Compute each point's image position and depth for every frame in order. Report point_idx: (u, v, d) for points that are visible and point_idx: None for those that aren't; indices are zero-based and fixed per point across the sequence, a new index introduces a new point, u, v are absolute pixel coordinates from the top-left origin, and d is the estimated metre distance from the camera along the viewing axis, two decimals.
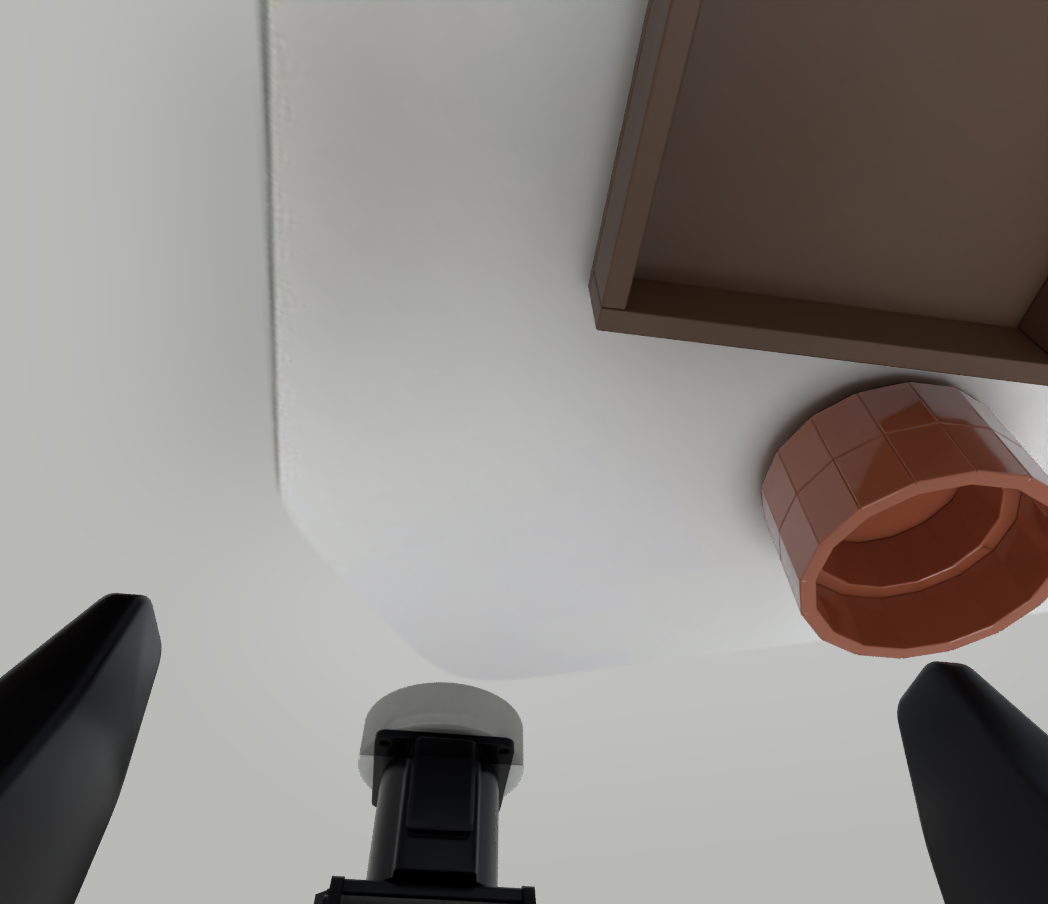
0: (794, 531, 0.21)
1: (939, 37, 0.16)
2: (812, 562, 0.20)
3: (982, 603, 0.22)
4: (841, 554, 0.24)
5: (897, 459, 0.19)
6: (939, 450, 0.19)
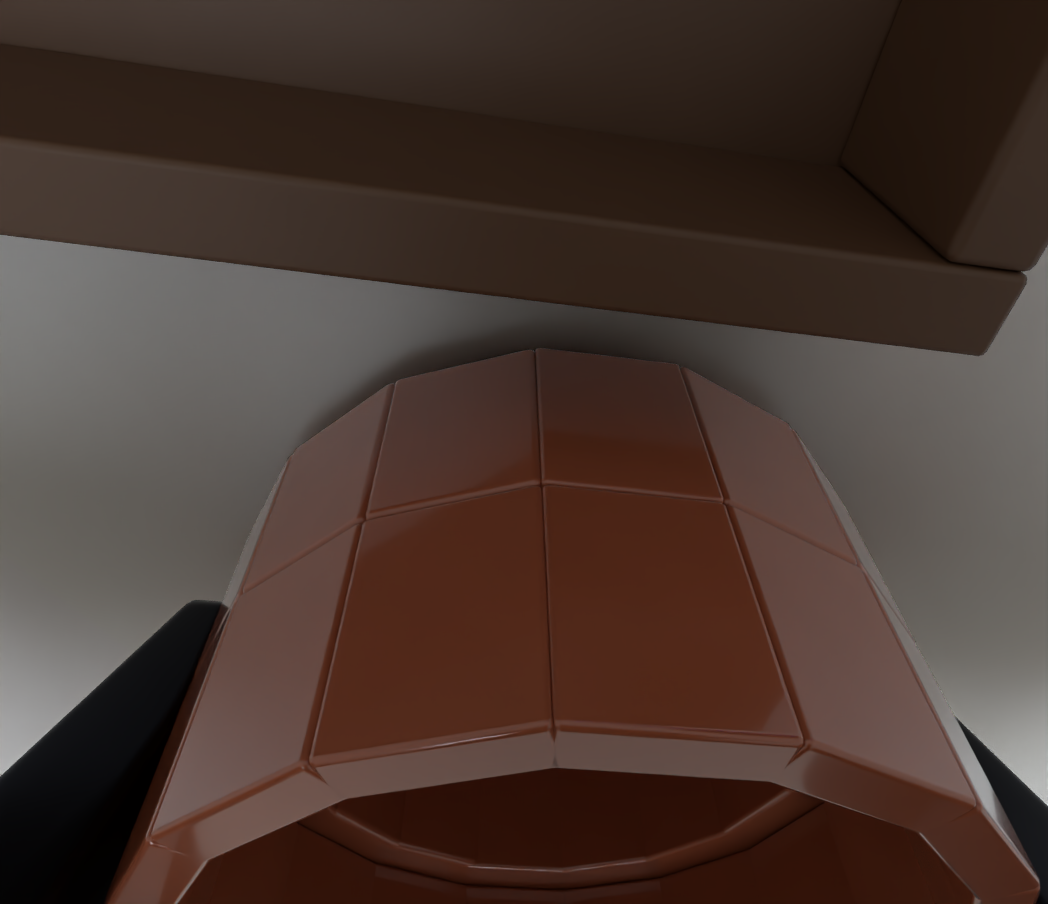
0: None
1: None
2: None
3: None
4: None
5: (325, 633, 0.05)
6: (474, 602, 0.05)
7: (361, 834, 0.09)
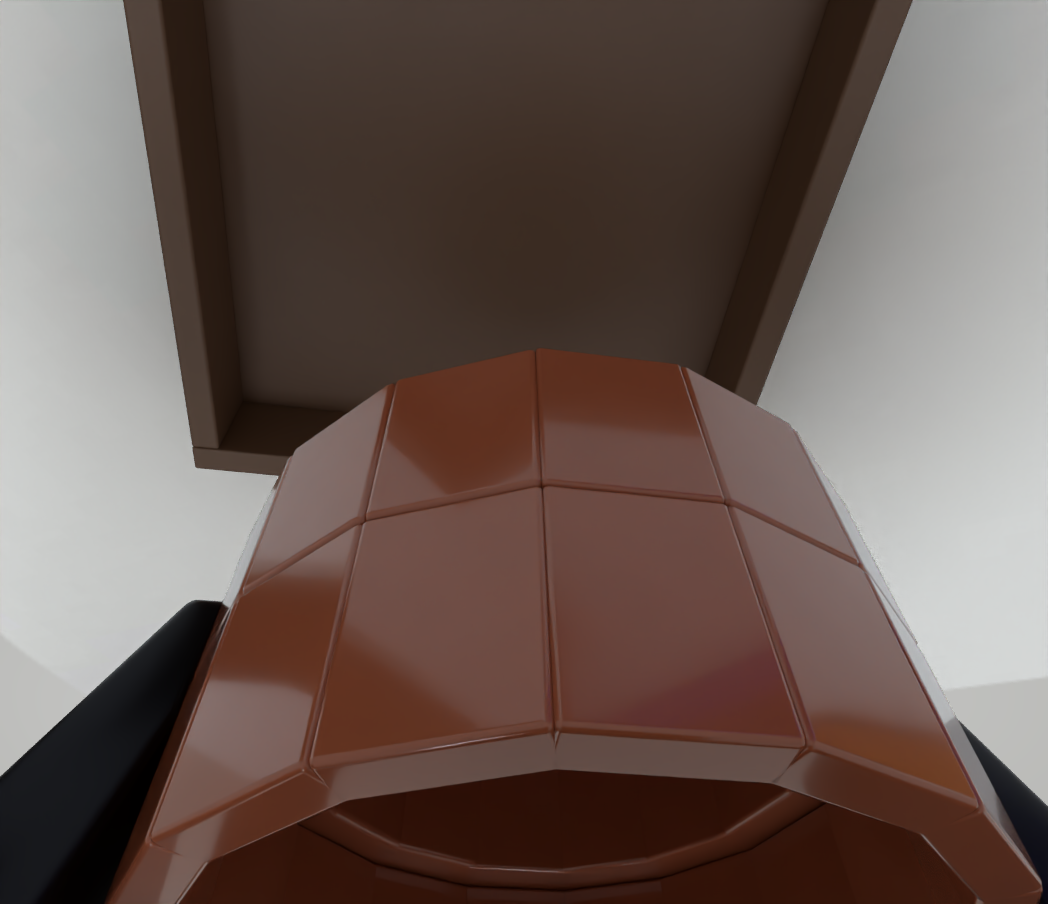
0: None
1: (504, 174, 0.15)
2: None
3: None
4: None
5: (326, 635, 0.05)
6: (475, 602, 0.05)
7: (361, 834, 0.09)
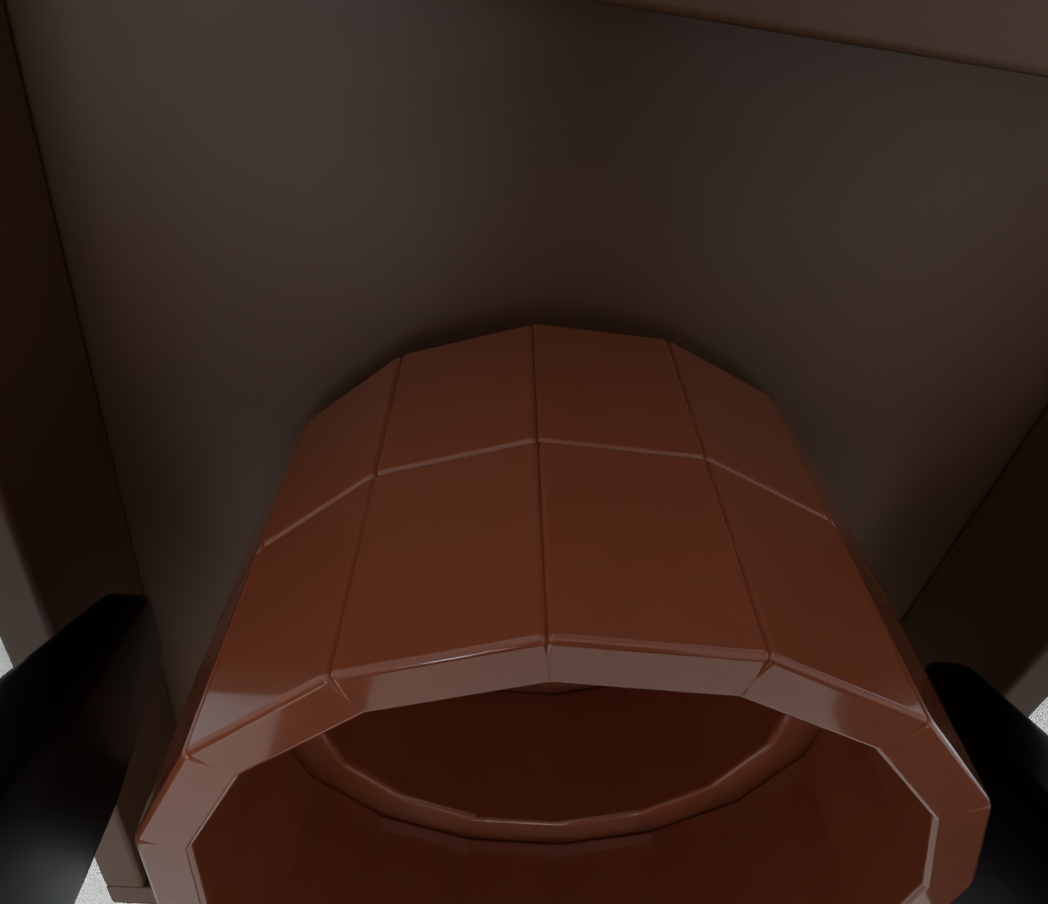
0: None
1: None
2: (153, 878, 0.06)
3: (769, 899, 0.09)
4: (492, 730, 0.11)
5: (344, 572, 0.05)
6: (477, 541, 0.05)
7: (369, 786, 0.09)
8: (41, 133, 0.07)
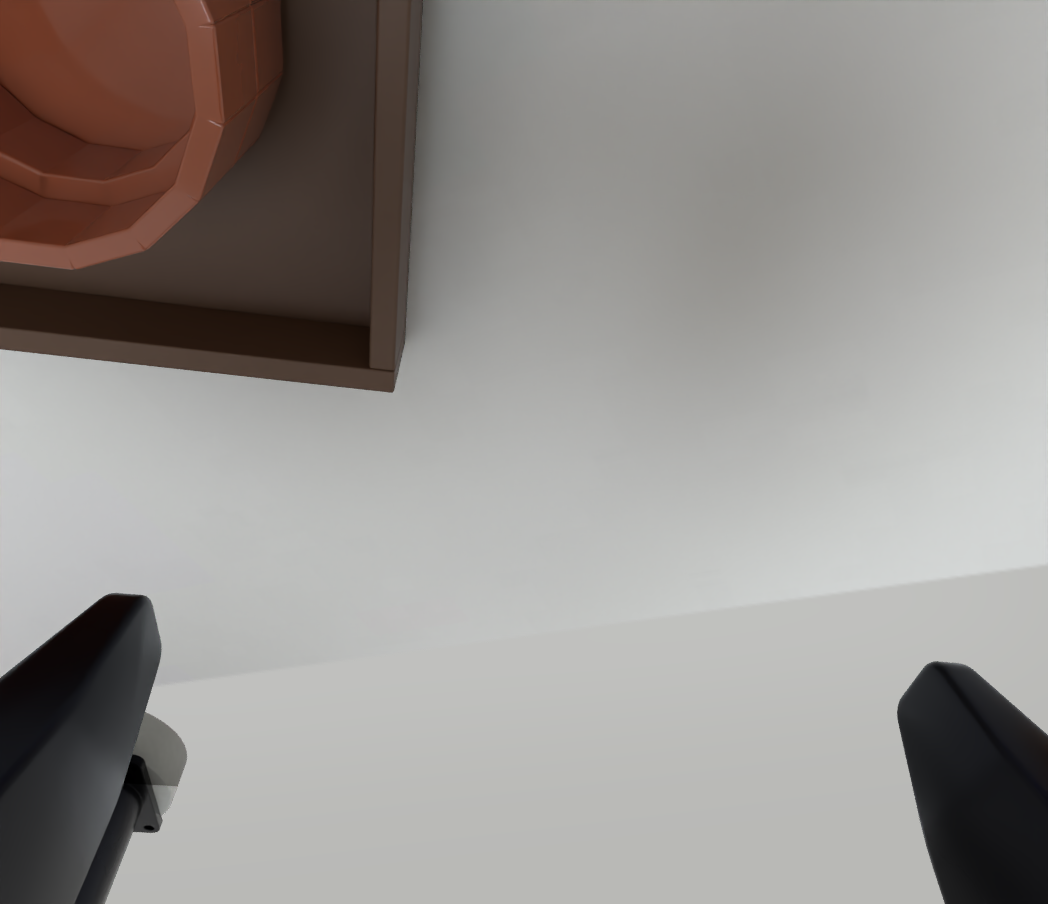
0: None
1: None
2: None
3: None
4: (83, 154, 0.15)
5: None
6: None
7: None
8: None
